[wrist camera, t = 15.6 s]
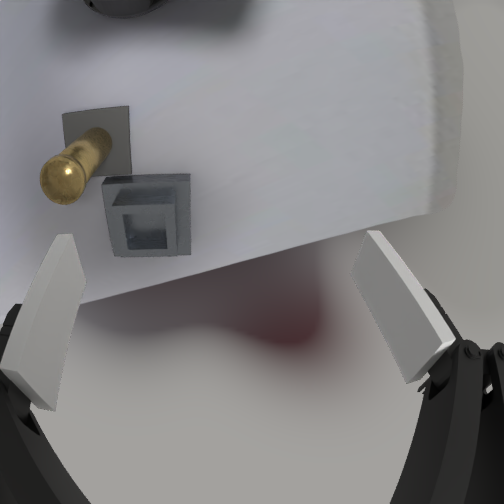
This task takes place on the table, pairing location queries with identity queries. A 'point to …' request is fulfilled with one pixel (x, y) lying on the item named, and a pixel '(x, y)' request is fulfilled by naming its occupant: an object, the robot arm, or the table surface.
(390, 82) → the table surface
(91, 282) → the table surface
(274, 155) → the table surface
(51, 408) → the robot arm
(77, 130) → the mat
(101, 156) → the brass flared knob
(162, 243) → the housing
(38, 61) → the table surface
